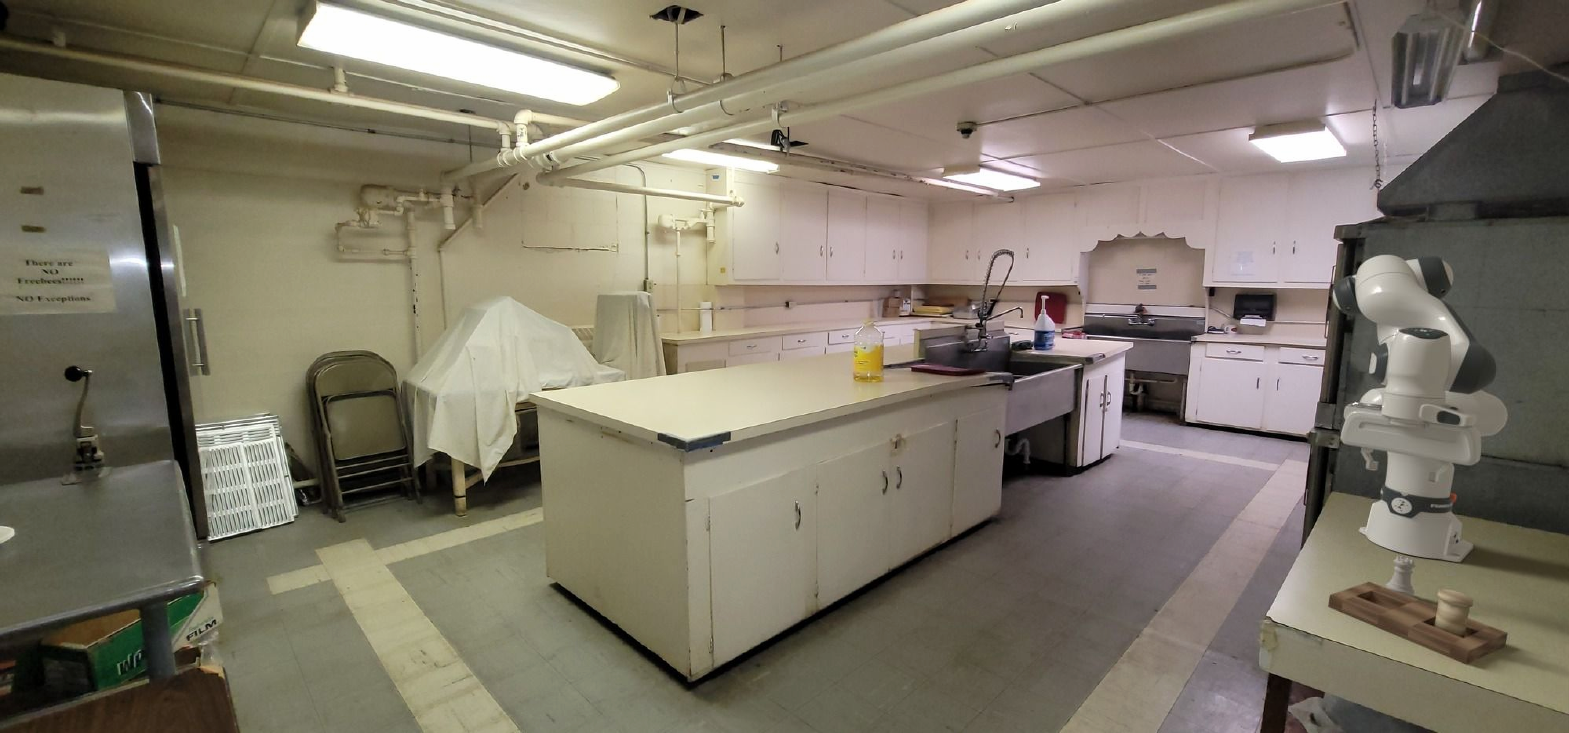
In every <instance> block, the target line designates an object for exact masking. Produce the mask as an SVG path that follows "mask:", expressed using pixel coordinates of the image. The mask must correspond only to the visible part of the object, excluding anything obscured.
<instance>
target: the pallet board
mask: <svg viewBox="0 0 1569 733" xmlns="http://www.w3.org/2000/svg"><path fill="white" fill-rule="evenodd" d="M1436 597H1437V598H1438V603H1437V606H1436V605H1434V604H1431V603H1428V602H1425V601H1423V600H1420V599H1418V598H1416V597H1414V598H1412V597H1409V596H1407V595H1404V594H1401V593H1399V592H1396V591H1393V590H1390V589H1388V588H1387V587H1386V586H1382V585H1379V584H1376V583H1374V582H1371V581H1367V582H1365V583H1362V584H1359V585H1354V586H1353V587H1349V588H1347V589H1346V588H1345V589H1343V590H1340V591H1338V592H1334V593H1332V594H1331V593H1330V595H1329V597H1328V599H1329V600H1328V606H1327V607H1328V608H1331V609H1333V610H1336V611H1337V612H1340V613H1343V614H1345V615H1348V616H1350V617H1352V618H1355V619H1357V620H1359V621H1361V622H1364V623H1366V624H1369V625H1370V626H1371V625H1372V626H1373V627H1376V628H1378V629H1381V630H1383V631H1386V632H1388V633H1391V634H1393V635H1396V636H1398V637H1399V638H1403V639H1405V640H1407V641H1410V642H1412V643H1414V644H1416V645H1419V646H1422V647H1424V648H1426V649H1429V650H1431V651H1434V652H1436V653H1439V654H1441V655H1443V656H1446V657H1447V658H1450V659H1453V660H1455V661H1458V662H1460V663H1462V664H1465V665H1468V664H1470V663H1473V662H1475V661H1476V660H1478V659H1480V658H1482V657H1484V656H1485V657H1486V656H1487V655H1489V654H1491V653H1493V652H1495V651H1497V650H1500V649H1502V648H1503V647H1505V646H1506V644H1507V640H1508V639H1507V638H1508V635H1509V632H1507V631H1504V630H1502V629H1498V628H1496V627H1493V626H1491V625H1488V624H1486V623H1483V622H1480V621H1477V620H1475V619H1472V618H1469V613H1470V608H1471V607H1473V605H1474V600H1475V599H1474V598H1473V597H1471V596H1470V595H1468V594H1466V593H1463V592H1460V591H1458V590H1453V589H1448V588H1447V589H1445V588H1442V589H1438V592H1437V596H1436Z"/></svg>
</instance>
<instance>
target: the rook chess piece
mask: <svg viewBox="0 0 1569 733" xmlns="http://www.w3.org/2000/svg"><path fill="white" fill-rule="evenodd" d="M1414 562H1415V561H1414V559H1411V558H1410V557H1406V558H1405V557H1404V556H1403V555H1397V556H1396V558H1395V559H1393V563H1394V564H1395V566H1394V567H1393V569H1394V572H1393V575H1392V577H1391V579H1390V580H1389V582H1387V583H1386V584H1385V588H1388V589H1390V590H1393V591H1396V592H1399V593H1401V594H1404V595H1407V596H1409V597H1412V598H1415V589H1414V588H1413V585H1412V583H1411V580H1412V579H1411V576H1412V574H1413V570H1412V569H1414V568H1415V567H1416V564H1415V563H1414Z"/></svg>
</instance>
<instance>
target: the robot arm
mask: <svg viewBox="0 0 1569 733" xmlns="http://www.w3.org/2000/svg"><path fill="white" fill-rule="evenodd" d="M1453 281H1454V272H1453V270H1452V267H1451V266H1450V265H1449V264H1448V263H1447V262H1446V261H1444V260H1443V259H1442V257H1441V256H1437V255H1425V256H1424V255H1423V256H1418V257H1417V258H1415V259H1407V260H1405V259H1403V258H1402V257H1399V256H1397V255H1393V254H1381V255H1377V256H1372V257H1370V258H1369V259H1367V260H1365V261H1364V262H1363V263H1362V264H1360V266H1359V267H1358V269H1357V273H1356V274H1354V275H1348V276H1345V277H1343V278H1341V279H1339V280H1338V281H1336V283H1335V284H1334V285H1333V292H1332V300H1333V302H1334V305H1335V306H1336V307H1337V308H1338V309H1339V310H1340V311H1341V312H1342V314H1345V315H1348V316H1360V315H1363V316H1364V317H1365V318H1367V319H1368V320H1370V321H1371V322H1373V323H1374V324H1376V333H1377V335H1376V336H1377V342H1378V346H1376V347H1375V348H1373V349H1371V350H1370V352H1369V361H1368V367H1367V375H1368V376H1369V377H1370V379H1372V380H1373V381H1374V382H1376V383H1377V384H1379V385H1384V386H1385V387H1381V388H1372V389H1370V390H1368V391H1367V392H1365V393H1364V394H1363V396H1361V398H1360V400H1359V401H1357V402H1356V401H1354V403H1350V404H1347V405H1346V406H1345V407H1344V409H1343V410H1344V411H1343V419H1344V420H1345V421H1344V423H1343V426H1342V430H1341V433H1340V441H1341V442H1342V443H1343V444H1344V445H1348V446H1352V447H1353V446H1354V447H1360V454H1361V455H1362V457H1363V458H1364V460H1365V461H1366V464H1365V470H1369V471H1377V470H1378V466H1379V461H1376V460H1374V459H1373V458H1374V457H1373V456H1372V455H1371V453H1373V452H1374V450H1375V451H1382V452H1386V453H1387V466H1386V467H1387V468H1386V474H1385V475H1386V476H1385V482H1384V483H1383V484H1382V487H1381V488H1380V500H1378V501H1376V502H1374V503H1372V505H1371V508H1370V512H1369V517H1368V519H1367V525H1366V526H1361V527H1359V530H1358V531H1359V533H1361V534H1362V535H1364V536H1365V537H1367V539H1368V540H1369V541H1371V542H1372V543H1374V544H1375V545H1377V546H1380V547H1382V548H1385V549H1388V550H1391V551H1394V552H1398V553H1401V554H1406V555H1409V556H1415V557H1419V558H1420V557H1421V558H1427V559H1435V560H1436V559H1438V560H1443V561H1450V562H1455V563H1462V561H1463V559H1465V558H1466V557H1467V555H1468V554H1469V553H1470V552H1471V551H1472V550H1473V549H1474V544H1473V543H1472V542H1470V541H1467V540H1465V539H1463V538H1461V536H1462V531H1463V530H1462V529H1463V523H1462V521H1460V519H1458V518H1457V516H1456V515H1455V514H1454V513H1453V512H1452V511H1453V504H1454V503H1455V502H1456V501H1457V497H1458V496H1457V494H1455V493H1452V492H1451V491H1452V490H1451V489H1452V486H1453V479H1454V474H1455V466H1454V464H1457V465H1463V466H1473V465H1475V464H1477V463H1478V462H1480V461H1481V455H1482V437H1490V436H1494V435H1496V434H1498V433H1499V432H1500V431H1501V430H1502V429H1503V428H1504V427H1505V425H1506V424H1507V422H1508V409H1507V407H1506V406H1505V404H1504V403H1503V401H1502V400H1501V399H1500V398H1499V397H1498V396H1496V395H1493V394H1490V393H1488V392H1486V391H1484V390H1483V389H1485V388H1487V387H1489V386H1490V385H1491V384H1492V383H1493V382H1494V380H1495V378H1496V376H1497V375H1496V374H1497V362H1496V359H1495V357H1494V355H1493V353H1492V352H1490V351H1489V350H1488V349H1487V348H1486V347H1485V346H1483V345H1482V344H1481V343H1480V342H1479V341H1478V340H1477V338H1476V337H1475V336H1474V335H1473V333H1472V331H1471V330H1470V329H1469V328H1468V326H1467V325H1466V323H1465V322H1464V321H1463V319H1461V317H1460V316H1459V314H1458V313H1457V311H1455V309H1454V308H1453V306H1451V305H1450V304H1449V303H1448V302H1445V301H1444V300H1442V299H1443V298H1445V297H1446V296H1448V294H1449V293H1450V291H1451V289H1452V285H1453Z"/></svg>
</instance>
